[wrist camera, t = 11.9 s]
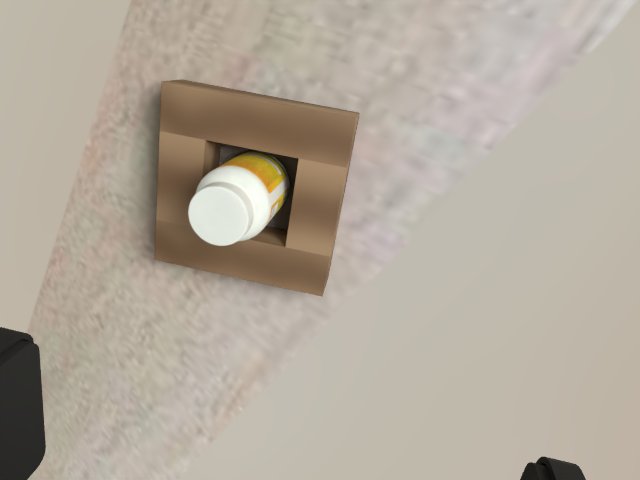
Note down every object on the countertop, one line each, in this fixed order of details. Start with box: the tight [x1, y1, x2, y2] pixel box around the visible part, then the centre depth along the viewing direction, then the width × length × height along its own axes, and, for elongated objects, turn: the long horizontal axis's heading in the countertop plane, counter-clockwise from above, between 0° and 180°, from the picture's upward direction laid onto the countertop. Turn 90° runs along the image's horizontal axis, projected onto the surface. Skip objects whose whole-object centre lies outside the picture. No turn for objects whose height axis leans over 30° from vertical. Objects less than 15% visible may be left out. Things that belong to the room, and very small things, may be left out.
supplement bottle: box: [188, 151, 290, 246], centre depth 35 cm, size 5×5×10 cm
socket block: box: [155, 80, 359, 296], centre depth 38 cm, size 14×14×4 cm
